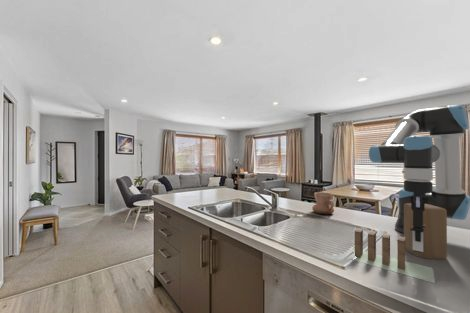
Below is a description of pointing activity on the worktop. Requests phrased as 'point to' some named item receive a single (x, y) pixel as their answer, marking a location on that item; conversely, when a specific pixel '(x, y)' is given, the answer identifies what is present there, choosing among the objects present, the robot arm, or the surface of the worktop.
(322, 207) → the ceramic jug
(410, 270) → the mat
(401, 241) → the domino
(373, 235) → the domino
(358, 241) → the domino end
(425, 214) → the block
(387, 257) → the domino
